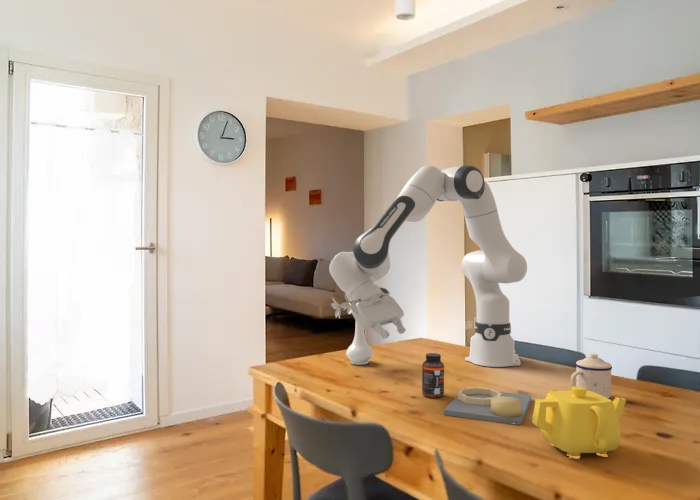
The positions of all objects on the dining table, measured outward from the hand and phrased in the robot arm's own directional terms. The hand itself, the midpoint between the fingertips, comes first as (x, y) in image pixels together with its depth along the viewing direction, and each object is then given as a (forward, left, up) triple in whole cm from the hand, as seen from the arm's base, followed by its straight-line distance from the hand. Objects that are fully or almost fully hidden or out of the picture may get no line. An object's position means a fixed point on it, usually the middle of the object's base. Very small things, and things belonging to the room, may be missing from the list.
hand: (395, 334), depth 155 cm
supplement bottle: (+2, +12, -16) cm, 20 cm away
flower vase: (-25, -22, -16) cm, 37 cm away
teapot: (+26, +49, -16) cm, 57 cm away
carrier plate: (+6, +28, -15) cm, 32 cm away
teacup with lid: (-14, +51, -16) cm, 55 cm away
